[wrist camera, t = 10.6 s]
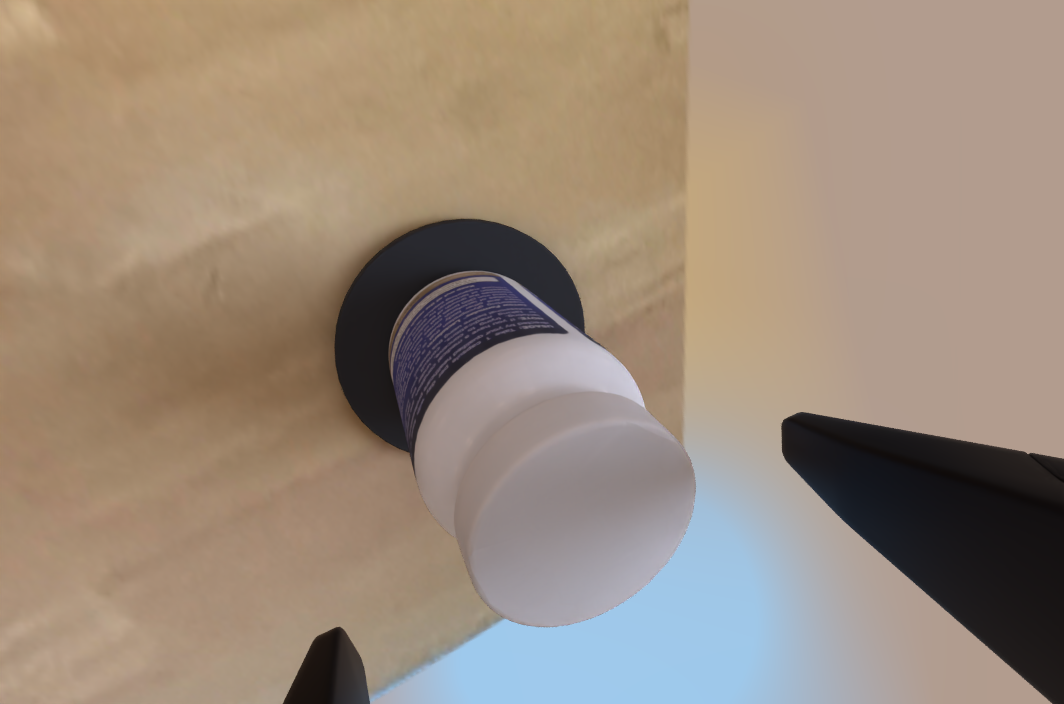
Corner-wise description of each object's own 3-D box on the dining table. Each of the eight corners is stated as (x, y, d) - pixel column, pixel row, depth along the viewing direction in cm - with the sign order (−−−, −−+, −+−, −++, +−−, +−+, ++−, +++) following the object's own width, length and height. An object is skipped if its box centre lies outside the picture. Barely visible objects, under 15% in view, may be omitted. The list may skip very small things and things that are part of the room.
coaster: (551, 186, 18) (557, 187, 17) (597, 401, 21) (603, 407, 21) (288, 267, 16) (286, 271, 15) (390, 487, 20) (391, 496, 19)
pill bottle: (368, 405, 18) (396, 660, 9) (412, 246, 16) (497, 359, 7) (517, 429, 20) (655, 647, 11) (567, 291, 19) (769, 418, 10)
